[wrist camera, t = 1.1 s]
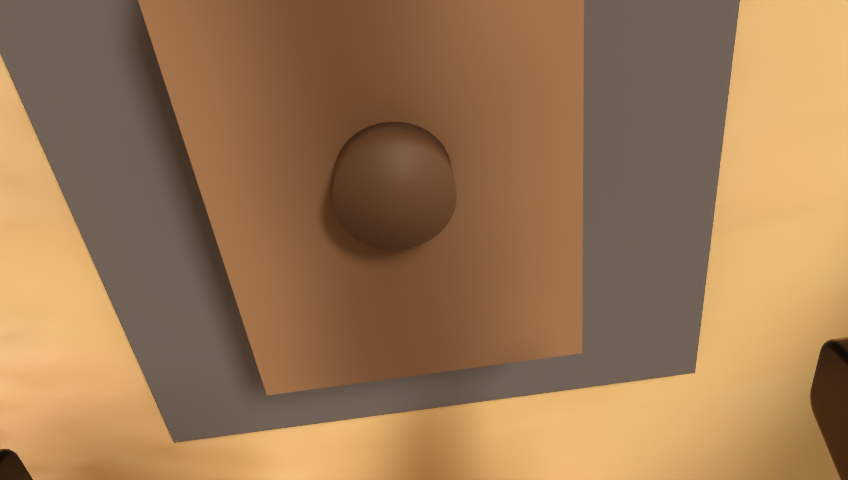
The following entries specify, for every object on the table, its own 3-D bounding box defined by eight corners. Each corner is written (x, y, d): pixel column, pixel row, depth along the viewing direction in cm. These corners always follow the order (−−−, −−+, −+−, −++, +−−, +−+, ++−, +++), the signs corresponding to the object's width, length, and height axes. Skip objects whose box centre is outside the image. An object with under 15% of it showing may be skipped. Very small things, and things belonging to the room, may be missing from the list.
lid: (541, -189, 13) (599, -150, 10) (552, 265, 19) (592, 381, 15) (153, -135, 13) (91, -81, 10) (278, 301, 19) (262, 425, 15)
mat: (790, -570, 11) (809, -582, 11) (687, 357, 21) (694, 372, 21) (-194, -432, 11) (-218, -438, 11) (178, 425, 22) (174, 442, 21)
